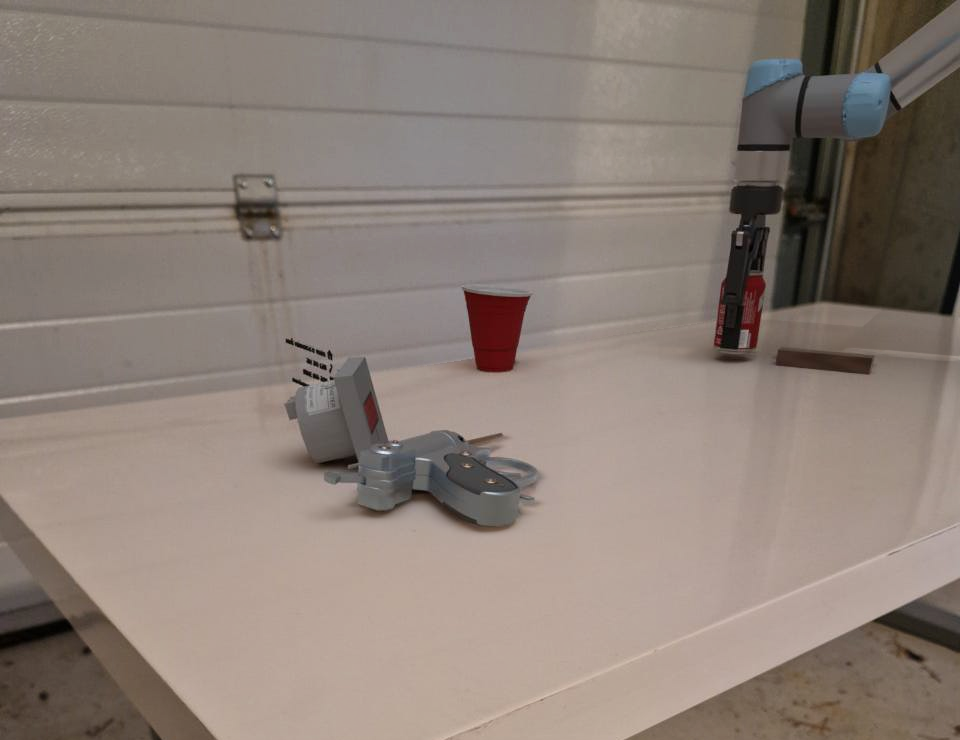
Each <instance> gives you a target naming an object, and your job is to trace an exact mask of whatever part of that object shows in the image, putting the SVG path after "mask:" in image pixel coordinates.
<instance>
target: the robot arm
mask: <svg viewBox="0 0 960 740" xmlns="http://www.w3.org/2000/svg"><path fill="white" fill-rule="evenodd" d="M959 68H960V0H955V1H954V2H952V3H951V4H950V5H949V6H948V7H946V8H945V9H944V10H943V11H941V12H940V13H938V14H937V15H936V16H934V18H932V19H931V20H930V21H928V22H926V23H925V24H924V25H923V26H922V27H921V28H919V29H918V30H917V31H915V32H914V33H913V34H911V35H910V36H908V38H906V39H905V40H904V41H902V42H901V43H900V44H899V45H897V46H896V47H895V48H893V49H892V50H891V51H890V52H888V53H887V54H885V55H884V56H883V57H881V58H880V59H879V60H877V62H876V63H874V64H873V65H871V66H870V67H868V68H867V69H866V70H865V71H862V72H860V73H845V74H843V73H841V74H829V75H804V71H803V62H802V61H801V60H800V59H796V58H770V59H769V58H768V59H760V60H757V61H755V62H753V63H752V64H751V65H750V67H749V68H748V70H747V75H746V81H745V87H744V92H743V96H742V98H741V113H740V122H739V131H738V138H737V139H738V140H737V147H736V156H735V158H733V159H732V161H731V166H732V167H734V168H733V169H734V171H733V178H732V180H733V181H734V183H736V186H735V185H734V186H733V188H731V190H730V197H729V207H728V211H729V213H730V214H732V215H740V218H739V219H740V220H739V224H738V227H736V229H735V230H732V232H731V235H730V238H731V239H730V248H729V249H730V250H729V254H728V255H729V256H728V262H727V269H726V275H725V278H726V281H725V287H724V294H723V298H722V300H721V301H720V304H721V305H726V307H725V315H724V322H723V330H722V337H721V345H720V348H722V349H732V350H738V347H739V340H740V333H741V326H742V319H743V312H744V306H743V305H742V304H743V299H744V295H745V290H746V286H747V281H748V277H749V272H750V270H757V271H763V272H764V271H765V263H766V257H767V255H766V254H767V248H768V241H769V236H770V233H771V227H770V226H766V219H767V216H771V215H778V214H780V212H781V209H782V203H783V196H784V188H783V186H781V185H782V183H784V182H785V181H786V179H787V173H788V167H789V166H788V165H789V160H790V159H789V158H790V150H791V144H792V140H793V139H794V138H796V139H804V138H805V139H807V138H809V139H811V138H812V139H840V140H842V141H845V142H860V141H862V140H865V139H866V138H870V137H871V138H872V137H875V136H877V135H878V134H880V132H881V131H882V129H883V127H884V124H885V122H886V121H888V120H889V119H890V118H891V117H893V116H895V115H896V114H897V113H898V112H899V111H901V110H903V108H905V107H906V106H908V105H909V104H910V103H912V102H913V101H915V100H916V99H917V98H919V97H920V96H921V95H923V94H925V93H926V92H927V91H929V90H930V89H931V88H932V87H934V86H936V85H937V84H938V83H940V82H941V81H942V80H944V79H945V78H946V77H948V76H949V75H950V74H952V73H954V72H955V71H956V70H958V69H959ZM762 276H763V277H764V274H763V275H762Z"/></svg>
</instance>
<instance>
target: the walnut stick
mask: <svg viewBox="0 0 960 740" xmlns="http://www.w3.org/2000/svg"><path fill="white" fill-rule="evenodd" d="M875 357H876V356H875V355H873V354H863V353H852V352H841V351H829V350H821V349H820V350H819V349H808V348H796V347H784V346H781V347H780V348H778V349H777V353H776V359H775V366H781V367H782V366H783V367H792V368H802V369H811V370H823V371H832V372H842V373H851V374H861V375H870V374H871V372H872V370H873V366H874V361H875Z"/></svg>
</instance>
